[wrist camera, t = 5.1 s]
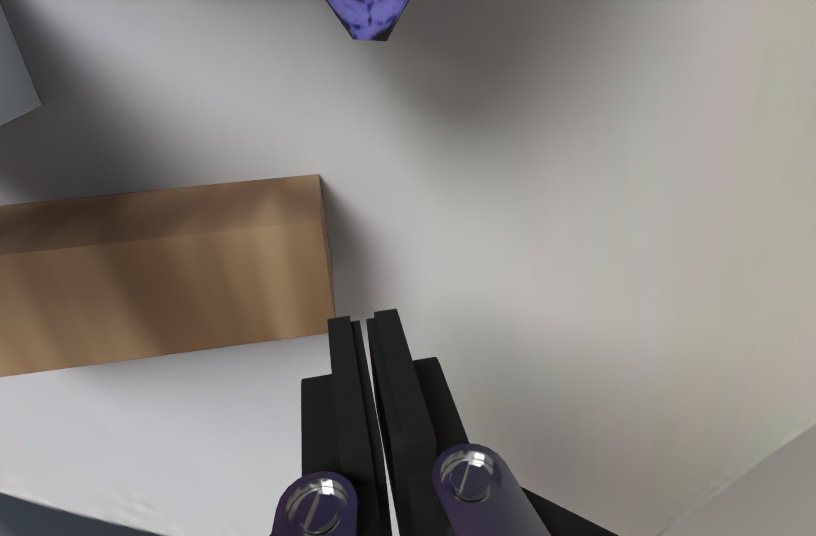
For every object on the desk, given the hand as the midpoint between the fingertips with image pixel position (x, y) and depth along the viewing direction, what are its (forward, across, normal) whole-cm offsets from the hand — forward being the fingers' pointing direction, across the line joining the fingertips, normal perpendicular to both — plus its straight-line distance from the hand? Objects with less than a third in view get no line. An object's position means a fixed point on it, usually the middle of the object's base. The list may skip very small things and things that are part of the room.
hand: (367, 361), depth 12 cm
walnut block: (+6, +1, 0) cm, 6 cm away
